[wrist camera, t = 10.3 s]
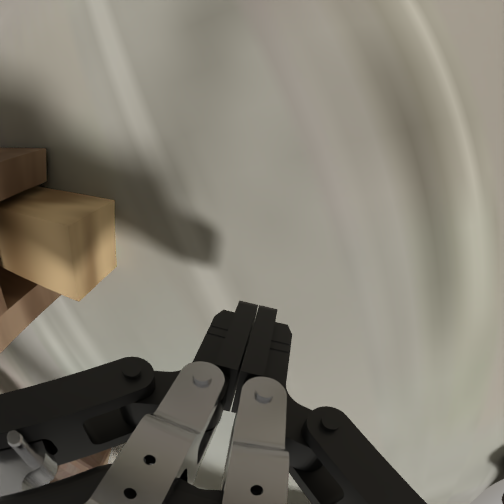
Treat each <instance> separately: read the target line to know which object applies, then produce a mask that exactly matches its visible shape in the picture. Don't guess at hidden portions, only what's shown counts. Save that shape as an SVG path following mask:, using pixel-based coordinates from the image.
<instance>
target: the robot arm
mask: <svg viewBox="0 0 504 504" xmlns="http://www.w3.org/2000/svg"><path fill="white" fill-rule="evenodd" d="M257 307H258V305H256V304H252V303H247V302H243V301H239V303H238V306H237V308H236V311H235V313H234V312H230V311H226V310H223V311H221V312H220V313H218V314H217V315H216V316H214V319H213V321H212V323H211V325H210V327H209V329H208V331H207V334H206V335H205V337H204V339H203V342H202V344H201V346H200V348H199V350H198V352H197V354H196V356H195V358H194V360H193V362H192V363H189V364H187V365H186V366H185V367H183V369H182V370H180V371H176V372H162V371H154V370H153V368H152V366H151V365H150V363H148V362H147V361H146V360H144V359H141V358H138V357H126V358H122V359H119V360H116V361H113V362H110V363H107V364H104V365H101V366H98V367H95V368H91V369H88V370H85V371H82V372H79V373H75V374H72V375H69V376H65V377H62V378H59V379H55V380H52V381H48V382H45V383H41V384H38V385H34V386H30V387H27V388H23V389H19V390H15V391H12V392H8V393H4V394H0V504H287V494H288V477H289V473H290V475H291V476H292V477H293V479H294V480H295V482H296V483H297V484H298V486H299V487H300V488H301V490H302V491H303V492H304V494H305V495H306V496H307V498H308V499H309V500H310V502H311V503H312V504H427V503H426V502H425V501H424V500H423V499H422V498H421V497H420V496H419V495H418V494H417V493H416V492H415V491H414V490H413V489H412V488H411V487H410V486H409V484H408V483H407V482H406V481H405V480H404V479H403V478H402V477H401V476H400V475H399V474H398V473H397V472H396V470H395V469H394V468H393V467H392V466H391V465H390V464H389V463H388V462H387V461H386V460H385V458H384V457H383V456H382V455H381V454H380V453H379V452H378V451H377V450H376V449H375V447H374V446H373V445H372V444H371V443H370V442H369V441H368V440H367V438H366V437H365V436H364V435H363V434H362V433H361V432H360V431H359V429H358V428H357V427H356V426H355V425H354V424H353V423H352V422H351V420H350V419H349V418H348V417H347V416H346V415H345V414H344V413H343V412H342V411H340V410H338V409H336V408H333V407H327V406H326V407H319V408H316V409H314V410H313V411H312V410H310V409H308V408H306V407H304V406H302V405H300V404H298V403H297V402H295V401H294V400H293V399H292V398H291V397H290V396H289V394H288V392H287V389H286V379H287V371H288V363H289V355H290V347H291V339H292V333H291V331H290V329H289V327H288V325H286V324H281V323H277V322H275V319H276V314H277V309H273V308H269V307H265V306H260V305H259V308H258V312H257ZM256 312H257V315H256ZM255 317H256V319H255ZM254 321H255V322H254ZM235 391H236V393H235ZM234 395H235V397H234ZM233 398H234V402H233V407H232V411H231V412H234V413H236V415H235V419H234V423H233V428H232V432H231V437H230V442H229V448H228V453H227V458H226V463H225V469H224V474H223V479H222V483H221V487H220V490H203V489H199V488H197V487H195V486H193V484H194V481H195V479H196V476H197V472H198V469H199V467H200V464H201V462H202V460H203V458H204V455H205V453H206V451H207V449H208V446H209V444H210V442H211V440H212V437H213V435H214V433H215V431H216V428H217V425H218V423H219V421H220V419H221V416H222V412H223V410H226V411H230V408H231V405H232V401H233ZM125 442H126V444H125V445H124V447H123V448H122V450H121V451H120V453H119V455H118V456H117V458H116V459H115V461H114V462H113V464H106V465H101V466H97V467H94V468H92V469H89V470H86V471H84V472H81V473H78V474H76V475H73V476H70V477H67V478H64V479H61V480H58V481H55V482H52V483H49V484H46V485H43V484H45V483H47V482H49V481H52V480H53V479H54V477H55V475H56V473H57V466H59V465H62V464H65V463H68V462H72V461H75V460H78V459H81V458H84V457H87V456H90V455H93V454H96V453H99V452H101V451H104V450H107V449H110V448H112V447H115V446H118V445H120V444H123V443H125Z"/></svg>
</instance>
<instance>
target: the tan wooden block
mask: <svg viewBox="0 0 504 504" xmlns="http://www.w3.org/2000/svg"><path fill="white" fill-rule="evenodd" d="M0 266H1V267H3V268H5V269H7V270H9V271H11V272H13V273H15V274H17V275H19V276H21V277H23V278H25V279H28V280H30V281H32V282H34V283H36V284H38V285H41V286H43V287H45V288H47V289H50V290H52V291H54V292H57V293H59V294H61V295H64V296H66V297H69V298H71V299H74V300H76V301H80V300H81V299H82V298H84V297H85V296H86V295H87V294H88V293H89V292H90V291H91V290H92V289H93V288H94V287H95V286H96V285H97V284H98V283H99V282H100V281H101V280H103V279H104V278H105V277H106V276H107V275H108V274H109V273H110V272H111V271H112V270H113V269H115V268H116V267H117V263H116V244H115V200H111V199H105V198H100V197H95V196H89V195H84V194H78V193H72V192H67V191H61V190H55V189H50V188H44V187H38V186H34V187H32V188H29V189H27V190H25V191H22V192H20V193H18V194H15V195H13V196H11V197H9V198H6V199H4V200H2V201H0Z"/></svg>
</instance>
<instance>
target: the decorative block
mask: <svg viewBox="0 0 504 504" xmlns="http://www.w3.org/2000/svg"><path fill="white" fill-rule="evenodd" d="M111 449H112V448H110V449H107V450H104V451H101V452H99V453H96V454H93V455H90V456H87V457H84V458H81V459H78V460H75V461H72V462H68V463H65V464H62V465H59V466H57V473H56V475H55V477H54V479H53V480H52V481H50V483H52V482H55V481H58V480H61V479H64V478H67V477H70V476H73V475H76V474H78V473H81V472H84V471H86V470H89V469H92V468H94V467H97V466H101V465H106V464H107V463H108V459H109V456H110V452H111Z"/></svg>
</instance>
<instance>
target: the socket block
mask: <svg viewBox="0 0 504 504" xmlns="http://www.w3.org/2000/svg"><path fill="white" fill-rule="evenodd" d="M44 182H47V170H46V148H0V201H2V200H4V199H6V198H9V197H11V196H13V195H15V194H18V193H20V192H22V191H25V190H27V189H29V188H32V187H34V186H37V185H39V184H42V183H44ZM60 295H61V294H59V293H57V292H54V291H52V290H50V289H47V288H45V287H43V286H41V285H38V284H36V283H34V282H32V281H30V280H28V279H25V278H23V277H21V276H19V275H17V274H15V273H13V272H11V271H9V270H7V269H5V268H3V267H1V266H0V353H1V352H2V351H3V350H4V349H5V348H6V347H7V346H8V345H9V344H10V343H11V342H12V341H13V340H14V339H15V338H16V337H17V336H18V335H19V334H20V333H21V332H22V331H23V330H24V329H25V328H26V327H27V326H28V325H29V324H30V323H31V322H32V321H33V320H34V319H35V318H36V317H37V316H39V315H40V314H41V313H42V312H43V311H44V310H45V309H46V308H47V307H48V306H49V305H50V304H52V303H53V302H54V301H55V300H56V299H57V298H58V297H59V296H60Z"/></svg>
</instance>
